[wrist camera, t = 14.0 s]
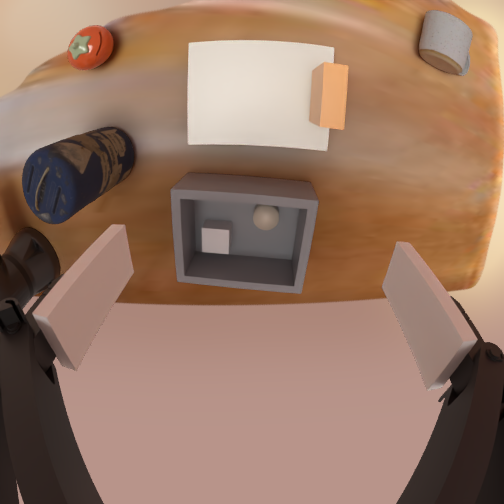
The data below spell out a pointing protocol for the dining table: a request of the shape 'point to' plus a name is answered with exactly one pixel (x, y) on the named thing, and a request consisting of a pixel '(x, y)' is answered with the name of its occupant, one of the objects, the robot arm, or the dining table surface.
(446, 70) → the ceramic mug
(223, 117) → the lid
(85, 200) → the canister
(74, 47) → the tomato
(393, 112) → the dining table surface
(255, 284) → the tub
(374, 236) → the dining table surface
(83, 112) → the dining table surface
